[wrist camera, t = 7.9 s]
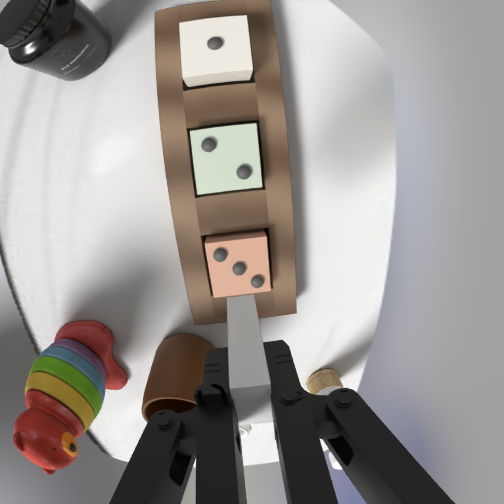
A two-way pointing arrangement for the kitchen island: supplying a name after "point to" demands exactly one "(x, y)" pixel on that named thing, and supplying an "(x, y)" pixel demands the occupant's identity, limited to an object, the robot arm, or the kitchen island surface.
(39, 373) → the stacking bear
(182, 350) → the mug
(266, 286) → the three-pip button
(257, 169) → the two-pip button
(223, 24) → the one-pip button
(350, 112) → the kitchen island surface
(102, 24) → the supplement bottle
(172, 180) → the button board
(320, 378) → the sprinkles bottle
